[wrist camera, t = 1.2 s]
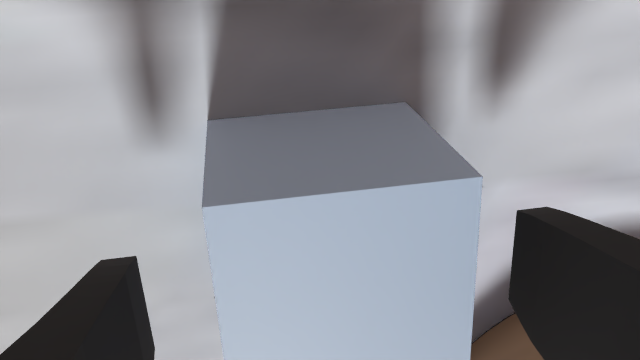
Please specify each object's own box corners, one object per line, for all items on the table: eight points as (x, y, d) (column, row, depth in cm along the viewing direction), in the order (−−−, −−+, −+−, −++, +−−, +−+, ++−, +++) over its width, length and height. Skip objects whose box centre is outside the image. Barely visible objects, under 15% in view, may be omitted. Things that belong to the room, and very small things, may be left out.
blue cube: (404, 101, 14) (482, 176, 10) (402, 267, 16) (468, 390, 11) (207, 119, 13) (202, 207, 9) (230, 289, 15) (233, 426, 11)
